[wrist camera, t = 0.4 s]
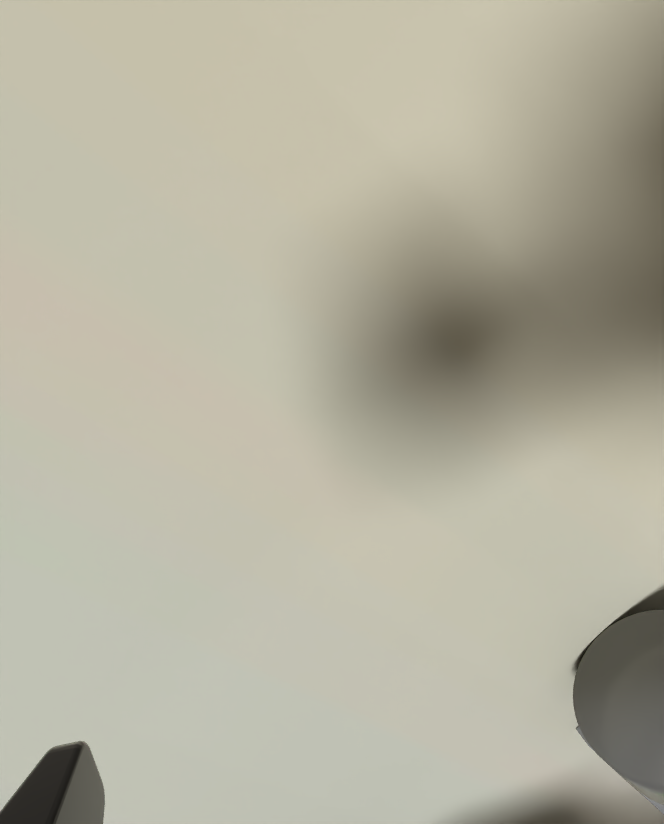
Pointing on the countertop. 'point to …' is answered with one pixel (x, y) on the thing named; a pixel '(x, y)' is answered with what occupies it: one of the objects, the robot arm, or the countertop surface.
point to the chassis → (626, 701)
